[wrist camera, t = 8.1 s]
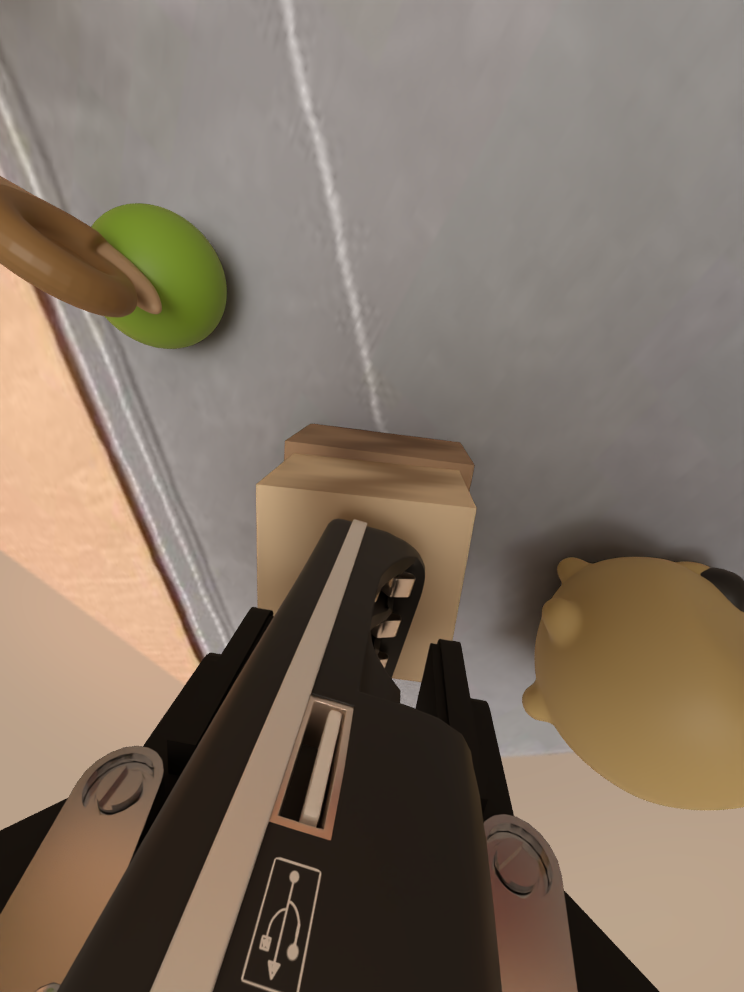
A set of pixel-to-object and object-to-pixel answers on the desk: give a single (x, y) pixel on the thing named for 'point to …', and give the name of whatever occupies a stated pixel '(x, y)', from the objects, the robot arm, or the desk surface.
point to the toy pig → (647, 677)
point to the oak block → (382, 505)
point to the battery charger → (313, 816)
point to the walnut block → (380, 448)
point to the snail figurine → (118, 266)
